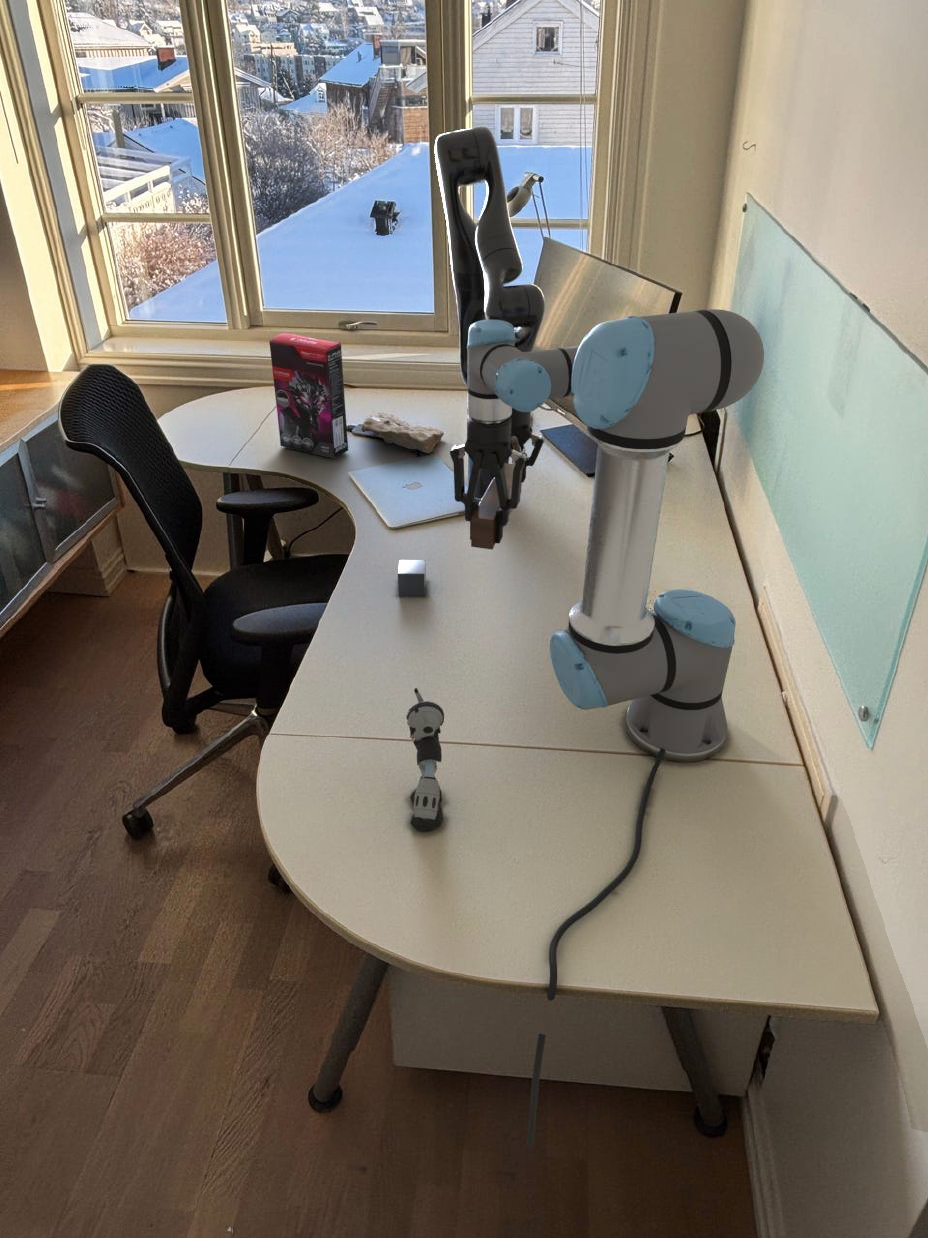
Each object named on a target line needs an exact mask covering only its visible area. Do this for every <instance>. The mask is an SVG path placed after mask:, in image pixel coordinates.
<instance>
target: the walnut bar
mask: <svg viewBox="0 0 928 1238" xmlns="http://www.w3.org/2000/svg"><path fill="white" fill-rule="evenodd" d="M504 466H505V468H504V471H505V477H506V482H507V488H508V493H509V499H511V492H512V480H513V470H514V466H515V465H513V464H512V463H509V464H508V463H504ZM522 484H523V483H522ZM522 484H521V486H522ZM499 505H500V503H499V498H498V492H497V487H496V482H495V477H494V479H493V481H492V482H491V484H490V486H489V488H488V489H487V491H486V493H485V495H484V496H483V498H482V500H481V502H480V501H479V502H478V507H477V508H476V510H475V512H474V514H473V515H472V517H471V540H470V547H471V548H478V549H485V550H491V551H492V550H494V547H495V546H496V544H497V543H495V537H496V510H497V508H498V507H499ZM513 510H514V509H509V517H510V516H511V514H512V512H513ZM504 528H505V526H503V529H504Z"/></svg>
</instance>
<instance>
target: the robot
mask: <svg viewBox="0 0 928 1238" xmlns="http://www.w3.org/2000/svg"><path fill="white" fill-rule="evenodd" d="M413 691H414V694H415V696H416V699H417V703H415V704H414V705H413V706H411V707H410V708H409V709H408V711H407V713H406V714H405V716H406V717H405V718H406V720H407V722H406V724H407V725H408V728H409V738H410V739H411V740H413V742H412V743H413V745H414V747H415V749H416V764H417V766H418V769H419V770H420V773H421V775H420V778H419V780H418V784H417V786H416V788H415V789H414V791H413V792H412V793H411V795H410V796H409V798H410V801H411V803H412V805H413V815H412V817H411V820H410V822H409V823H410V825H411V826H412V827H413V828H414V829H415V830H416V831H420V832H424V833H425V832H431V831H433V830H435V829H437V828H440V827H441V826H442V822H443V820H444V817H443V809H442V806H441V802H442V801H443V798H442V797H443V795H442V794H443V793H442V789H441V787H440V784H439V780H437V777H436V776H435V774H436V773H437V769H438V768H437V767H438V765H437V764H438V763H442V756H443V754H442V746H441V743H440V738H439V734H441V732H442V731H441V727H442V726H443V724H444V723H445V713H444V709H443V708H442V707H441V706H440V705H439V704H437V703H436V702H433V701H430V700H424V698H423V696H422V695H421V693H420V691H419V690H418V688H417V687H415V688H414V689H413ZM437 762H438V763H437Z"/></svg>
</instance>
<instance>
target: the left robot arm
mask: <svg viewBox="0 0 928 1238" xmlns="http://www.w3.org/2000/svg"><path fill="white" fill-rule="evenodd" d="M495 139H496V138H495V137H494V135H493V133H492V131H491V130H490V128H488V127H486V126H476V127H471V128H466V129H464V128H463V129H460V130H455V131H449V132H446V133H442V134H439V135H438V136H437V137H436V139H435V143H434V154H435V155H434V156H435V157H434V158H435V163H436V164H435V165H436V170H437V176H438V182H439V187H440V193H441V197H442V203H443V209H444V214H445V220H446V227H447V236H448V245H449V256H450V265H451V267H450V268H451V275H452V282H453V288H454V295H455V303H456V310H457V321H458V334H459V366H460V367H459V369H460V375H461V378H462V381H463V383H464V384H465V385H466V387H468V348H467V345H468V333H469V328H470V326H471V325H472V324H473V323H475V322H478V321H482V320H501V321H506V322H508V323H510V324H512V325H513V327H514V329H515V330H514V332H515V339H516V342H515V344H514V347H516V348H517V349H518V350H520V351H521V352H531V351H534V348H535V345H536V342H537V337H538V334H539V332H540V329H541V327H542V326H541V325H542V323H543V320H544V316H545V312H546V311H545V310H546V300H545V295H544V294H543V291H542V289H541V288H540V287H538V286H537V285H535V284H531V283H528V284H527V283H526V284H516V285H515V284H514V285H508V284H510V283H512V282H514V281H516V280H517V279H518V278H519V277H520V276H521V274H522V272H523V269H524V268H523V260H522V258H521V253H520V251H519V248H518V244H517V241H516V238H515V234H514V231H513V228H512V224H511V218H510V212H509V206H508V199H507V194H506V186H505V182H504V176H503V171H502V166H501V165H502V164H501V160H500V155H499V149H498V144H497V141H496V140H495ZM478 184H486V185H485V186H486V197H485V200H484V203H483V204H484V205H483V208H482V210H481V213H480V214H479V215H480V216H479V218H478V221H477V224H476V222H475V221H474V220H473V218H472V217H471V215H470V213H469V212H468V211H467V209H466V206H465V205H464V203H463V200H462V198H461V193H460V188H466V187H469V186H474V185H478ZM531 413H532V411H531V412H520V411H517V410H515V409H514V408H512V414H511V416H510V417H511V444H512V446H513V450H515V451H517V452H519V453H523V452H524V453H526V446H525V444H527V442H528V441H529V440H531V445H532V447H533V449H532V450H531V451H532V452H531V454H530V456H527V458H526V460H525V462H524V464H523V472H522V484H523V483H524V482H525V481H526V478H527V467H534V465H535V463H536V461H537V459H538V457H539V455H540V452H541V449H542V447H543V445H544V443H545V441H546V435H545V434H544V433H540V434H538V433H535V432H533V428H532V426H531V419H532V418H531V417H532V415H531ZM505 463H508V464H510V457H509V458H508V459H507V460H506V461H505ZM472 467H473V462H472V460H471V459H470V457H469V456H468V455H467V487H468V486H469V481H470V477H471V473H472V472H471V471H472ZM494 477H495V476H494V475H493V470H491V469H488V468H483V469H481V473H480V477H479V481H478V486H477V490H476V494H475V499H474V501H478V502H479V503H480V502H481V500H482V498H483V496H484V495H485V493H486V491H487V489H488V488H489V486H490V484H491V482H492V481H493V479H494ZM467 490H468V488H467V489H466V491H467Z"/></svg>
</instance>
